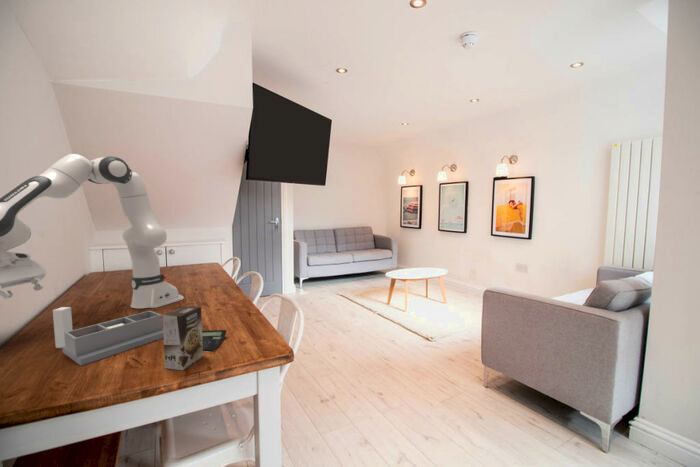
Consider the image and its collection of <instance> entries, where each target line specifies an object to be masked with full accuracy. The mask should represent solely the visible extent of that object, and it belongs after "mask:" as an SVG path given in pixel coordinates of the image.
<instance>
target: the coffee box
mask: <svg viewBox="0 0 700 467" xmlns="http://www.w3.org/2000/svg"><path fill="white" fill-rule="evenodd" d="M162 328H163V334H164V338H163V350H164V351H163V354H164V355H163V357H164V369H171V370H176V371H184V370H185V369H187V368H188V367H190V366H191V365H193V364H194V363H196V362H197V361H198V360H200V359H201V358H203V357H204V352H203V342H202V331H203V324H202V307H201V306H196V305H195V306H193V305H191V306H189V305H187V306H185V305H183V306H181V307H178V308H176V309H174V310H172V311H169V312H166V313H164V314H162ZM202 356H203V357H202ZM192 363H193V364H192Z"/></svg>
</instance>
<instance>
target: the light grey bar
mask: <svg viewBox="0 0 700 467" xmlns="http://www.w3.org/2000/svg"><path fill="white" fill-rule="evenodd" d="M52 318H53V319H52V320H53V331H54V341H55V343H54V344H55V348H56V349H62V347H63V346H66V344H65V332H68V331H72V330H74V329H73V319H72V318H73V316H72V307H71V306H66V307H65V306H61V307H59V308H55V309H52Z"/></svg>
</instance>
